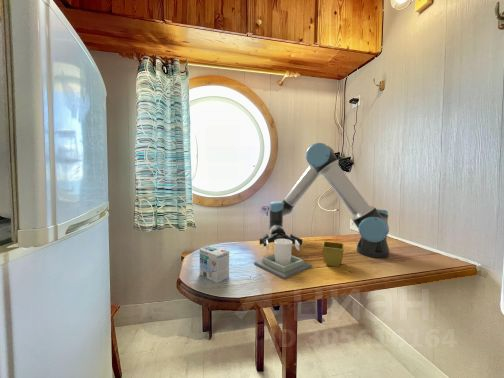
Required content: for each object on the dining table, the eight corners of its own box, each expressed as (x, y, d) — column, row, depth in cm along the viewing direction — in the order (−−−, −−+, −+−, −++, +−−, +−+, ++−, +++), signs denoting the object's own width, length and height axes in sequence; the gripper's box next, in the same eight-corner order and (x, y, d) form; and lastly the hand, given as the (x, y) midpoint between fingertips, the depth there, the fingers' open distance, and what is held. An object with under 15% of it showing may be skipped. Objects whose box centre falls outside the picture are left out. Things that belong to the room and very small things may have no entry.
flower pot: (321, 266, 100) (322, 246, 100) (323, 259, 108) (323, 240, 108) (342, 269, 97) (343, 249, 96) (342, 262, 105) (343, 243, 104)
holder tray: (311, 266, 99) (312, 260, 99) (284, 279, 88) (284, 271, 88) (281, 254, 113) (281, 249, 113) (254, 264, 102) (254, 257, 102)
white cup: (291, 267, 96) (292, 244, 95) (272, 266, 98) (273, 243, 97) (291, 260, 104) (292, 239, 103) (274, 259, 105) (275, 238, 104)
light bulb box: (199, 275, 91) (198, 248, 90) (212, 269, 96) (211, 244, 95) (217, 283, 84) (216, 255, 83) (229, 277, 89) (229, 250, 88)
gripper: (301, 240, 121) (311, 256, 99) (254, 240, 121) (254, 255, 99) (301, 227, 120) (311, 239, 99) (254, 226, 120) (254, 238, 99)
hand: (283, 247), depth 99 cm, fingers open, 13 cm apart
